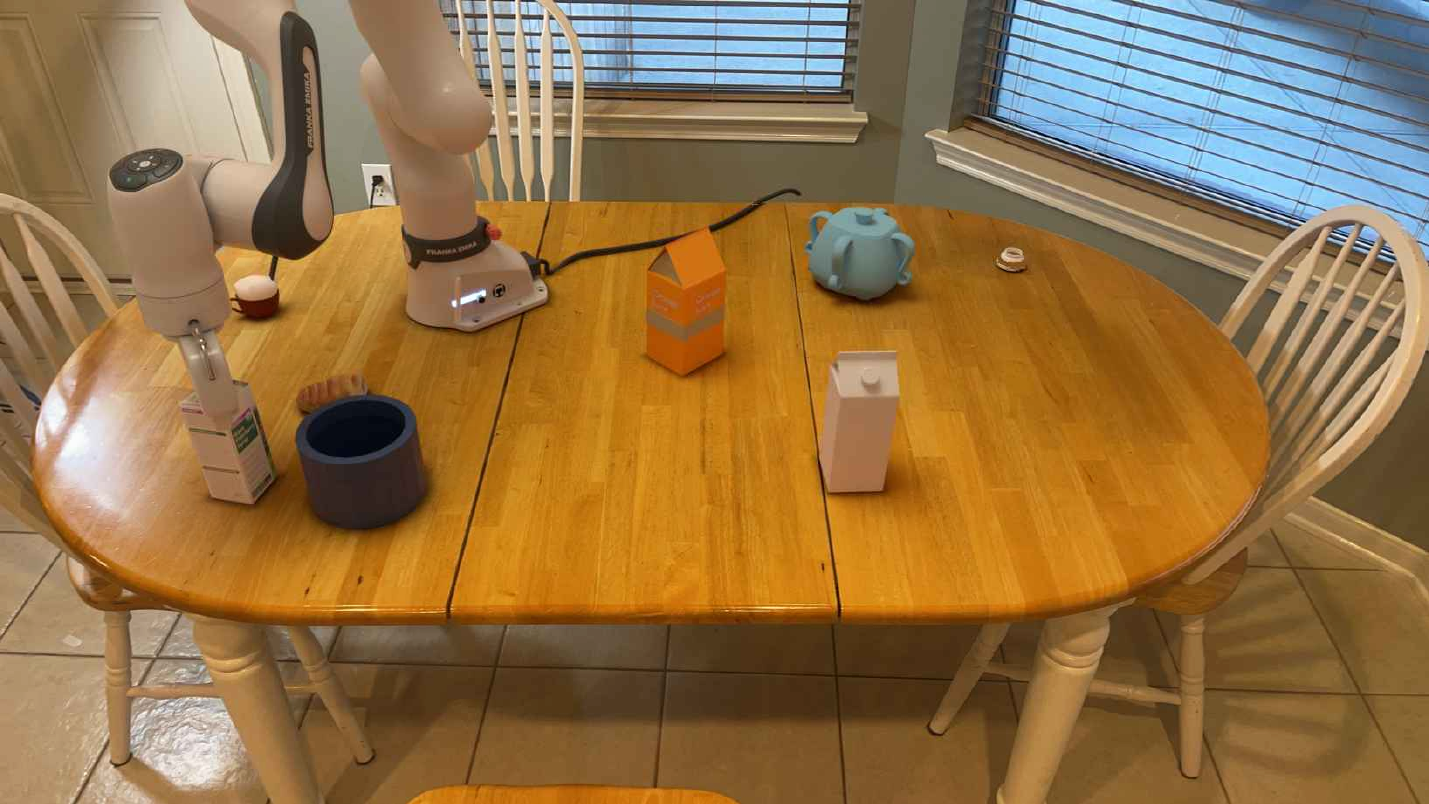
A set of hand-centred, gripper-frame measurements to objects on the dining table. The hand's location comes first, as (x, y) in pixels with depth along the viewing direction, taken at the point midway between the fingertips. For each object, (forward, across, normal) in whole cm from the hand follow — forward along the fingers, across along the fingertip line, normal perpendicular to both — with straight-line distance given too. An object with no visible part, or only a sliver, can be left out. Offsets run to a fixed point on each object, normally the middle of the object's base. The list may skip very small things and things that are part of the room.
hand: (215, 405), depth 118 cm
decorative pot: (+12, +4, -100) cm, 101 cm away
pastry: (+13, +12, -15) cm, 23 cm away
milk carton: (+12, -36, -68) cm, 77 cm away
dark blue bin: (+12, -8, -14) cm, 20 cm away
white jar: (+11, -4, -129) cm, 129 cm away
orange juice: (+12, -1, -64) cm, 65 cm away
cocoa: (+12, +42, -12) cm, 46 cm away
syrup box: (+13, 0, 0) cm, 13 cm away
